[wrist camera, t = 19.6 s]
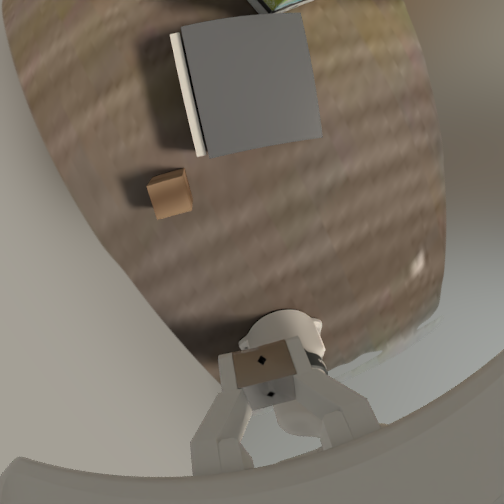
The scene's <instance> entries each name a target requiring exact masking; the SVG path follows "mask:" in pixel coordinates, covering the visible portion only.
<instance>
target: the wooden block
mask: <svg viewBox="0 0 504 504" xmlns="http://www.w3.org/2000/svg"><path fill="white" fill-rule="evenodd" d="M146 187H147V190H148V193H149V196H150V199H151V202H152V205H153V208H154V211H155V214H156V217H157V220H159V219H162V218H166V217H169V216H173V215H177V214H180V213H184V212H188V211H192V202H193V198H192V194H191V191H190V187H189V183H188V180H187V176H186V172H185V168H182V169H179V170H175V171H172V172H168V173H165V174H161V175H158V176H155V177H152V179H151V180H150V182H149V183H148V185H147V186H146Z"/></svg>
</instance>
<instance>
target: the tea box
mask: <svg viewBox="0 0 504 504" xmlns="http://www.w3.org/2000/svg"><path fill="white" fill-rule="evenodd" d="M247 1H248V2H249V3H250V4H251V5H252V6H253V8H254V9H255V10H256V11H257V12H258V13H259V14H272V13H283V12H285V11H288V10H290V9H293V8H295V7H298V6H300V5H303V4H305V3H308V2H311V1H314V0H247Z"/></svg>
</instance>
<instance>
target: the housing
mask: <svg viewBox="0 0 504 504" xmlns="http://www.w3.org/2000/svg"><path fill="white" fill-rule="evenodd" d="M181 31H182V36H183V41H184V46H185V51H186V55H187V60H188V65H189V69H190V74H191V79H192V83H193V88H194V92H195V97H196V101H197V106H198V110H199V115H200V119H201V124H202V128H203V132H204V137H205V141H206V145H207V150H208V154H209V158H210V159H211V158H215V157H219V156H223V155H227V154H232V153H236V152H241V151H246V150H251V149H256V148H261V147H266V146H271V145H277V144H282V143H288V142H294V141H301V140H307V139H314V138H322V137H323V136H322V128H321V121H320V113H319V106H318V100H317V93H316V87H315V81H314V75H313V70H312V64H311V59H310V54H309V49H308V44H307V39H306V35H305V30H304V26H303V21H302V17H301V13H272V14H258V15H247V16H238V17H231V18H224V19H217V20H212V21H206V22H201V23H196V24H191V25H187V26H183V27H181Z"/></svg>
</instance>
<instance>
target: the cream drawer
mask: <svg viewBox="0 0 504 504" xmlns="http://www.w3.org/2000/svg"><path fill="white" fill-rule="evenodd" d="M170 39H171V44H172V48H173V53H174V58H175V63H176V67H177V72H178V77H179V81H180V86H181V90H182V95H183V99H184V104H185V108H186V112H187V117H188V121H189V125H190V129H191V134H192V138H193V142H194V146H195V150H196V154H197V157H199V156H203V155H206V147H205V143H204V139H203V134H202V130H201V126H200V121H199V117H198V112H197V108H196V103H195V99H194V95H193V90H192V85H191V81H190V76H189V72H188V67H187V62H186V58H185V53H184V48H183V43H182V39H181V36H180V33H179V32H177V33H174V34H170Z"/></svg>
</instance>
